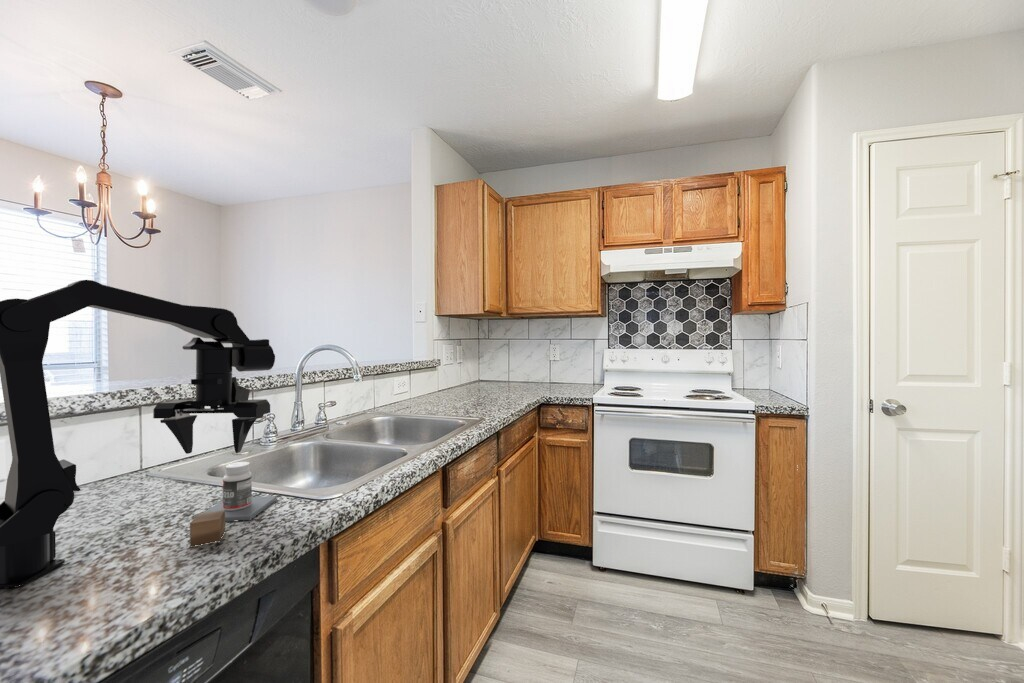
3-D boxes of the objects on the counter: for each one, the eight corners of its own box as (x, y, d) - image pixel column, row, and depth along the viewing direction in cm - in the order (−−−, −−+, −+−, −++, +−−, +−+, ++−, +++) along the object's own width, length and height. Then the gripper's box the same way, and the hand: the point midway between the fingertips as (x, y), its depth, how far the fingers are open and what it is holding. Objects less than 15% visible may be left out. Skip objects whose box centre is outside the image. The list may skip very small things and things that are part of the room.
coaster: (250, 520, 76) (250, 516, 76) (193, 522, 75) (193, 518, 75) (276, 499, 86) (276, 496, 86) (226, 501, 85) (226, 497, 85)
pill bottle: (217, 508, 80) (217, 466, 80) (242, 500, 84) (242, 459, 84) (231, 513, 77) (231, 469, 77) (256, 504, 82) (256, 462, 82)
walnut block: (219, 542, 68) (219, 518, 68) (190, 548, 66) (189, 523, 66) (225, 532, 71) (225, 510, 72) (197, 537, 70) (197, 514, 70)
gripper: (284, 370, 88) (283, 442, 88) (194, 370, 87) (193, 443, 87) (254, 373, 77) (254, 456, 77) (151, 374, 76) (150, 458, 76)
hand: (213, 452), depth 79 cm, fingers open, 9 cm apart
